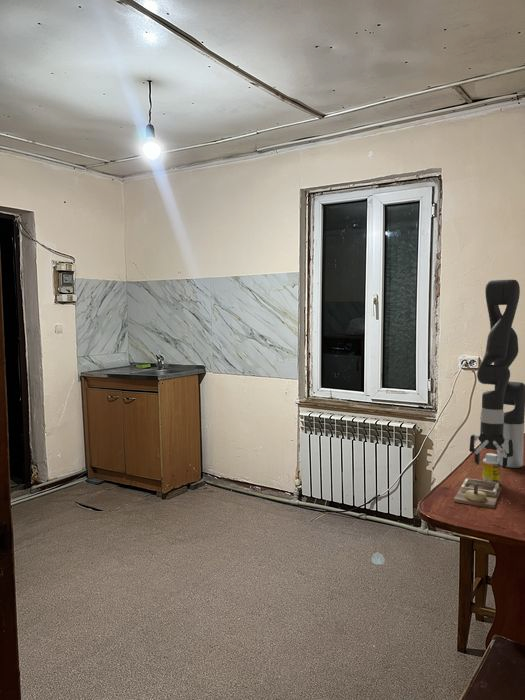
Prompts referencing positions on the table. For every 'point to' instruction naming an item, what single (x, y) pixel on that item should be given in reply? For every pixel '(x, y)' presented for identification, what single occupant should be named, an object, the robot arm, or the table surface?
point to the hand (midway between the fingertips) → (490, 465)
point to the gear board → (484, 504)
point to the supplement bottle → (491, 468)
